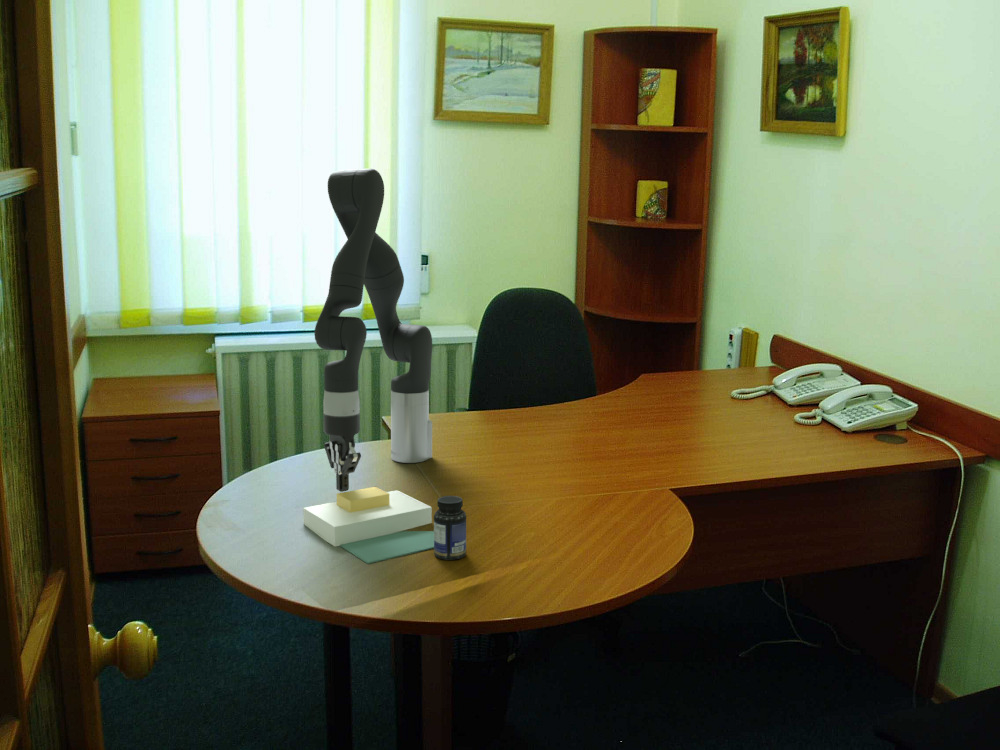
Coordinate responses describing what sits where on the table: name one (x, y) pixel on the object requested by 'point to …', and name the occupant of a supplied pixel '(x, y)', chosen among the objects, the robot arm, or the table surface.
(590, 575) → the table surface
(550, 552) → the table surface
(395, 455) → the robot arm
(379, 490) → the cream yellow sponge block
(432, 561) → the table surface
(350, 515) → the white rectangular block
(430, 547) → the mat
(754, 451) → the table surface
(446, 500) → the pill bottle
